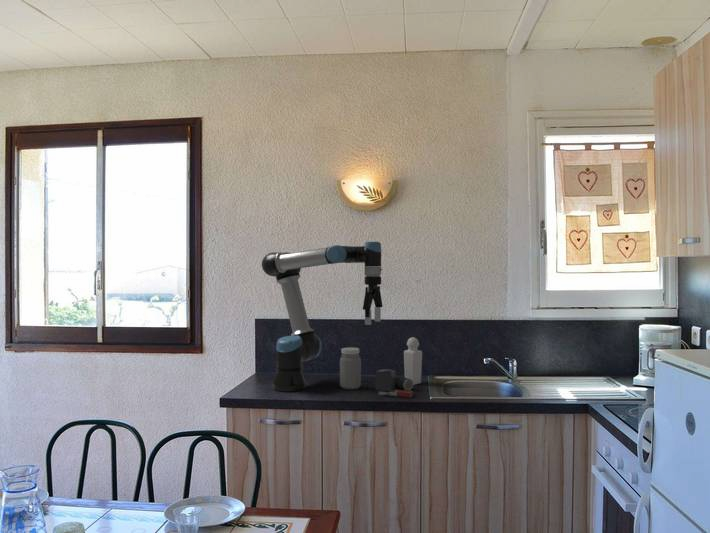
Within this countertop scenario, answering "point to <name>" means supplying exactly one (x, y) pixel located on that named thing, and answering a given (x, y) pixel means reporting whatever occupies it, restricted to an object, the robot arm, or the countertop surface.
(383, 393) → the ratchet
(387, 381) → the speaker cube
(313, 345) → the robot arm
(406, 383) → the flashlight
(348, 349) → the jar
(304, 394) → the countertop surface
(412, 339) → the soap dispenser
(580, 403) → the countertop surface
